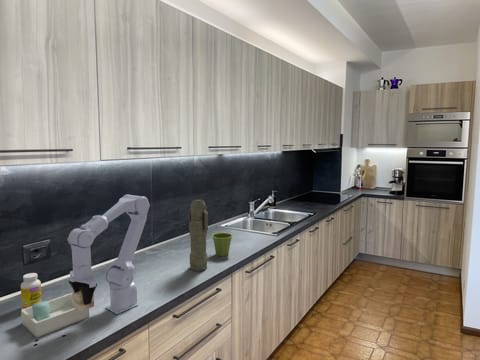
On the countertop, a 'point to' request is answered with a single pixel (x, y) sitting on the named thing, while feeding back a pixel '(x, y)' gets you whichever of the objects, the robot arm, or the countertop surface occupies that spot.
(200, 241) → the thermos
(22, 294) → the supplement bottle
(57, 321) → the tote
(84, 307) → the beech cube
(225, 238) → the plant pot
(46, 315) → the teal cylinder
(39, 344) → the countertop surface
